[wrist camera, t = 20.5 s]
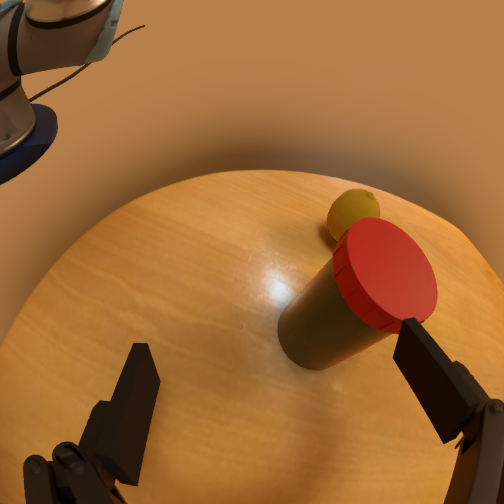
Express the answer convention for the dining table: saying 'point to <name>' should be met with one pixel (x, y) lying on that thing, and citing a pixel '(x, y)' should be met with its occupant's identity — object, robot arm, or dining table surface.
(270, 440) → the dining table surface
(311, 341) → the jar
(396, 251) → the cap
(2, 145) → the robot arm
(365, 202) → the lemon
